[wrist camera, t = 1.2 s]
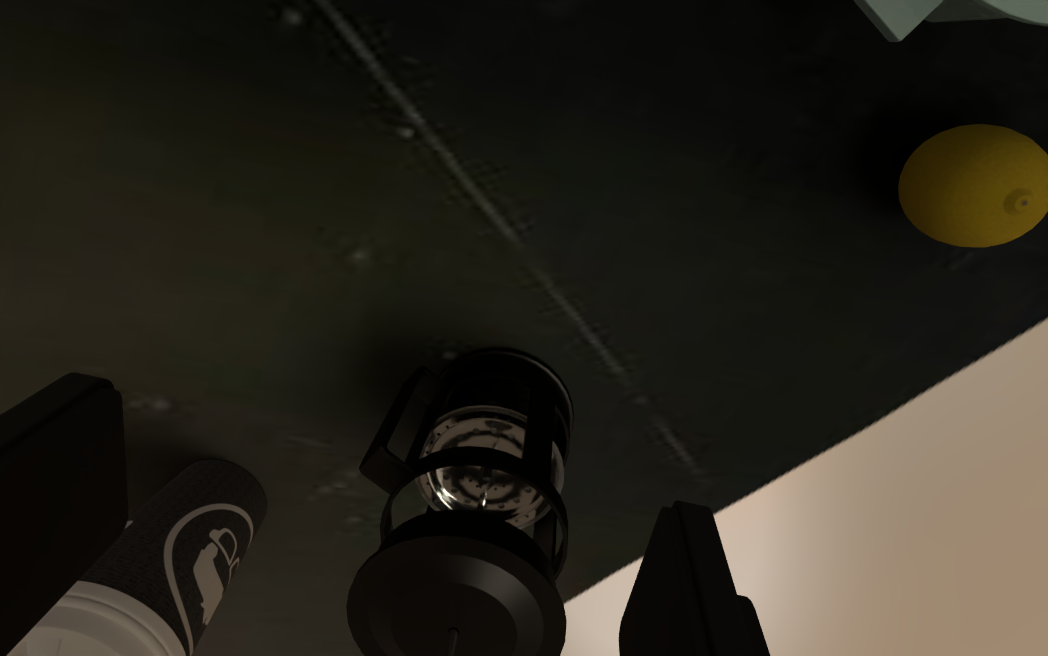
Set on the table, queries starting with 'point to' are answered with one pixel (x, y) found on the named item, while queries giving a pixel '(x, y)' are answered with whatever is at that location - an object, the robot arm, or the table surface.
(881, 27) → the pot
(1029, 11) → the lid
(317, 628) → the table surface
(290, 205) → the table surface
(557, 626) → the french press
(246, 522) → the coffee cup
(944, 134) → the lemon
